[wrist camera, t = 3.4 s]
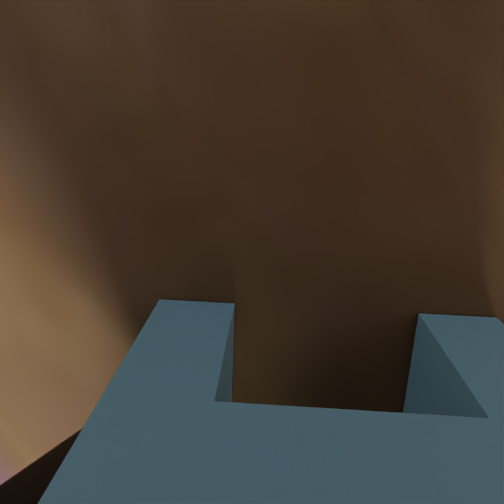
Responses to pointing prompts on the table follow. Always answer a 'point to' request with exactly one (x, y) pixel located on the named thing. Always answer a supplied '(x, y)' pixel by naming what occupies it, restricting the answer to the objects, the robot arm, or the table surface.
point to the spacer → (288, 426)
